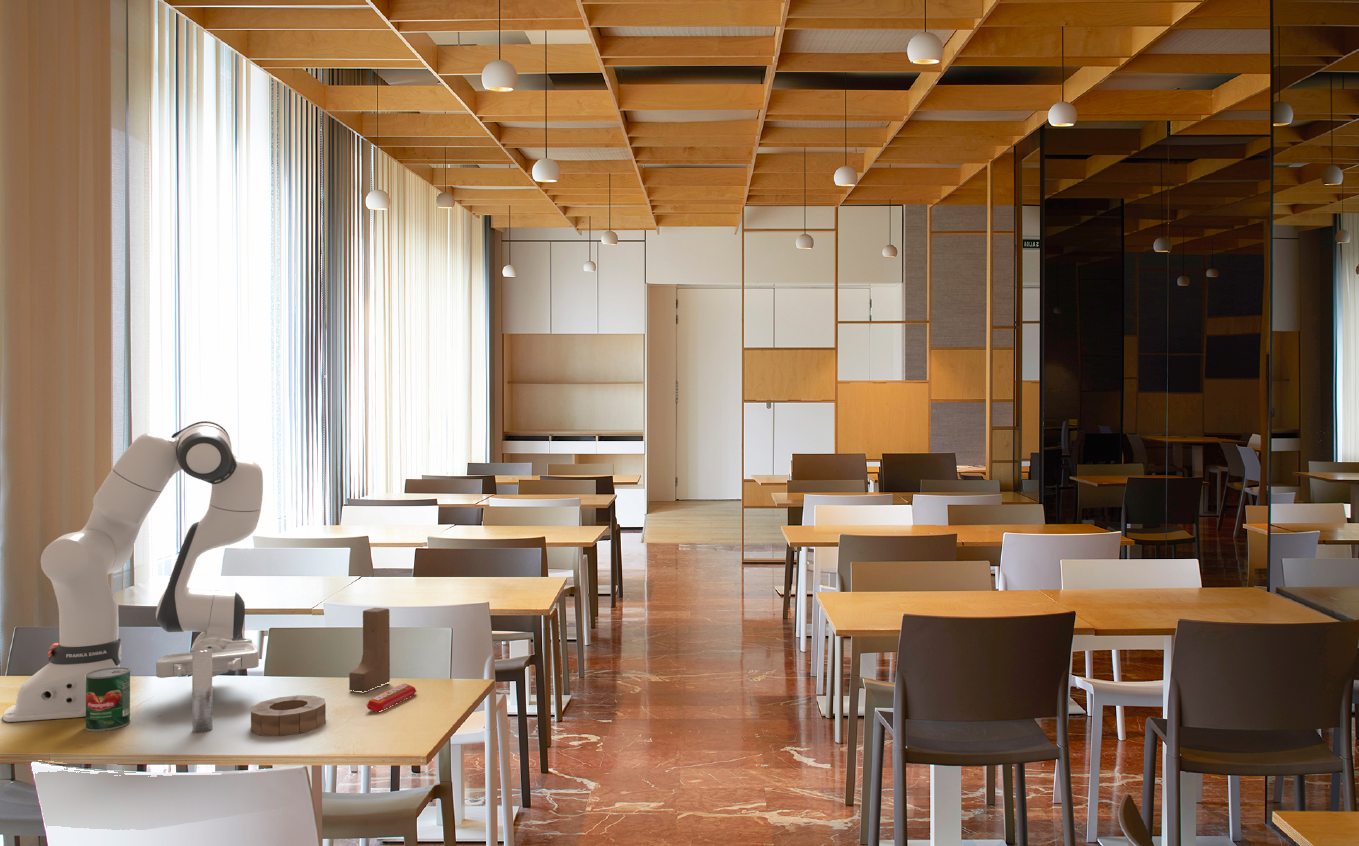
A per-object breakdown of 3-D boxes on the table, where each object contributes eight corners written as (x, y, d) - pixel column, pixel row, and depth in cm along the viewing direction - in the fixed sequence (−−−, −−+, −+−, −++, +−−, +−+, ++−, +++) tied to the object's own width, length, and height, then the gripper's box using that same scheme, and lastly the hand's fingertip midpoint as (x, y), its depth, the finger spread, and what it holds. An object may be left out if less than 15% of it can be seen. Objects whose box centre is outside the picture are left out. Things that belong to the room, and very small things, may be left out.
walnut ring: (250, 739, 180) (250, 719, 180) (251, 719, 193) (251, 700, 193) (327, 729, 186) (327, 709, 186) (323, 710, 198) (323, 692, 198)
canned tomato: (86, 734, 184) (86, 679, 185) (84, 724, 191) (84, 671, 191) (132, 726, 189) (132, 672, 189) (128, 717, 195) (128, 665, 196)
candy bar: (378, 715, 196) (378, 701, 196) (363, 714, 197) (363, 700, 197) (419, 695, 211) (419, 682, 211) (405, 694, 212) (405, 681, 212)
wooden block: (363, 693, 212) (363, 615, 212) (348, 691, 213) (348, 613, 214) (390, 683, 220) (390, 608, 220) (375, 682, 222) (375, 607, 222)
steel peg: (191, 733, 184) (191, 653, 184) (193, 728, 187) (192, 649, 187) (211, 731, 185) (211, 651, 186) (212, 726, 189) (212, 647, 189)
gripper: (158, 647, 206) (151, 660, 193) (258, 637, 214) (258, 650, 202) (158, 675, 206) (151, 691, 193) (259, 664, 214) (258, 679, 202)
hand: (206, 670), depth 198 cm, fingers open, 8 cm apart
